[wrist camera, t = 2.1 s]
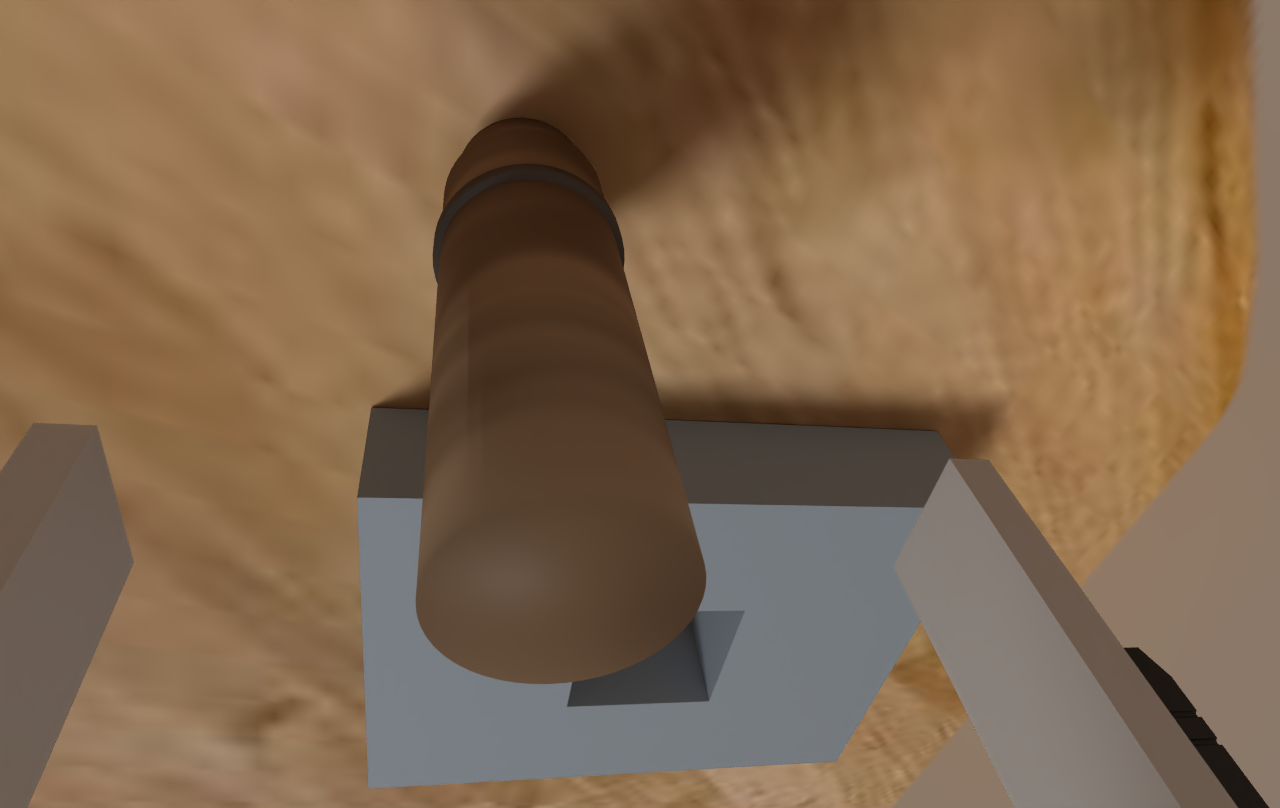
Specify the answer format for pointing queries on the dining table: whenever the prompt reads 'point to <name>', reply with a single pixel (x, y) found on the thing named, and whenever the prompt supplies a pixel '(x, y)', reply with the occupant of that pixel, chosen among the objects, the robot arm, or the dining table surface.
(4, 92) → the dining table surface
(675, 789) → the dining table surface
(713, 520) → the seat board
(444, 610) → the peg
